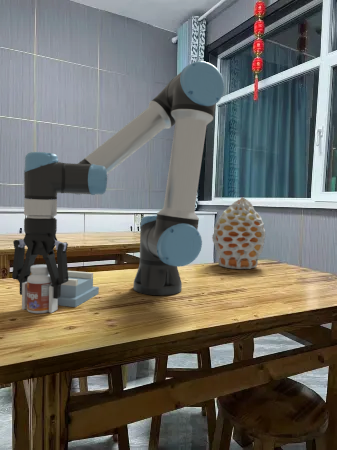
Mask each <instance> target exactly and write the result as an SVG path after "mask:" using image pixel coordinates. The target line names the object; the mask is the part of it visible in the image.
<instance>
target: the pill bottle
mask: <svg viewBox="0 0 337 450" xmlns="http://www.w3.org/2000/svg"><path fill="white" fill-rule="evenodd" d="M30 271H31V273H30V276H29V277H28V279H27V309H26V310H27V312H29V313H31V314H46V313H50V312H49V286H51V285H52V282H51V278H50V275H49V272H48V269H47V265H46V264H33V266H31V270H30Z"/></svg>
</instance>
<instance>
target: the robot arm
mask: <svg viewBox="0 0 337 450" xmlns="http://www.w3.org/2000/svg"><path fill="white" fill-rule="evenodd" d="M224 92H225V82H224V78H223V75H222V73H220V71H219V69H218V68H217V67H216V66H215V65H213V64H212V63H210V62H206V61H202V60H201V61H200V60H199V61H195V62H192V63H190V64H188V65H186V66H185V67H184V68H183V69H182V70H181V71H180V72H179V73H178V74H177V75H176V76H175V77H173V78H172V79H171V80H170V81H169V82H168V83H167V84H166V86H165V87H164V88H163V89H162V90H161V91H160V92H159V93H158V95H157V96H155V97H154V98H153V99H152V100H150V101H149V103H148V107H147V108H146V109H145V110H144V111H142V112H141V113H140V114H138V115H137V116H136V117H135V118H133V119H132V120H131V121H130V122H128V123H127V124H126V125H125V126H123V127H122V128H121V129H120V130H118V131H117V132H116V133H114V135H112V136H111V137H109V138H108V139H107V140H105V142H103V143H102V144H101V145H99V146H98V147H97V148H95V149H94V150H93V151H92V152H91V153H89V154H88V155H87V156H86V157H84V158H83V159H82V160H80V161H79V162H78V163H71V162H68V163H67V162H62V161H59V157H58V155H57V154H55V153H53V152H43V151H41V152H40V151H32V152H31V151H30V152H28V153H27V154H26V155H25V156H24V157H25V158H24V173H23V177H24V178H23V179H24V181H23V183H24V187H23V188H24V191H23V193H24V201H23V202H24V203H23V214H24V216H26V217H25V218H24V219H23V232H24V233H25V235H24V237H23V238H20V239H19V238H18V239H14V240H13V248H14V252H13V253H14V254H13V263H12V264H13V265H12V274H11V278H12V279H13V280H16V281H18V282H19V295H20V296H21V310H27V279H28V277H29V276H30V275H31V274H32V273H31V271H30V270H31V266H33V265H35V261H36V258H37V257H38V256H41V257H42V259H43V260H44V261H45V265H47V269H48V272H49V275H50V278H51V282H52V285H51V286H49V312H48V313H50V314H51V313H52V314H53V313H54V312H55V311H58V308H59V307H58V306H59V305H58V298H59V297H60V296H61V284H63V283H66V282H68V271H69V270H68V269H69V268H68V258H67V251H68V247H69V243H68V242H66V241H65V242H62V241H59V240H58V238H57V228H58V227H57V226H58V223H57V221H58V219H57V218H56V216H57V215H58V214H57V213H58V194H70V195H73V194H74V195H91V196H95V195H104V194H105V193H106V191H107V189H108V188H107V187H108V186H107V185H108V175H109V174H110V173H111V172H112V171H113V170H114V169H116V168H117V167H119V166H120V165H121V164H122V163H124V161H126V160H127V159H128V158H129V157H130V156H132V155H133V154H134V153H135V152H137V151H138V150H139V149H140V148H142V147H143V146H144V145H146V143H148V142H149V141H150V140H152V139H153V138H154V137H156V135H158V134H159V133H161V132H162V131H163V130H164V129H165V130H166V129H168V130H169V129H171V128H172V127H173V126H174V129H173V137H172V143H171V144H172V145H171V151H170V159H169V165H168V166H169V167H168V174H167V181H166V188H165V195H164V201H163V207H162V208H161V210H159V211H158V212H157V213H156V215H145V216H144V217H142V218H141V220H140V225H139V230H140V234H139V235H140V237H139V239H140V241H139V243H140V244H139V264H138V265H139V266H138V268H137V271H136V274H135V277H134V279H133V291H134V292H137V293H139V294H143V295H151V296H169V295H175V294H179V293H181V291H182V290H183V289H182V285H183V283H182V280H181V279H182V278H181V276H180V273H179V269H178V267H185V266H188V265H189V264H192V263H193V262H194V261H195V260H196V259H197V258H198V256H199V255H200V253H201V251H202V245H203V240H202V236H201V234H200V232H199V231H198V228H199V223H200V222H199V221H200V219H199V217H198V215H197V214H196V212H195V210H196V204H197V203H196V202H197V197H198V195H197V194H198V188H199V181H200V175H201V167H202V160H203V153H204V146H205V145H204V144H205V139H206V131H207V126H208V124H210V123H211V122H212V121H214V115H215V108H216V104H218V103H219V102H220V100H221V99H222V97H223V95H224ZM26 247H27V250H26ZM54 248H55V250H56V253H55V251H54ZM25 251H26V253H25ZM55 257H56V258H55ZM56 261H57V262H56Z"/></svg>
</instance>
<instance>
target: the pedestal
mask: <svg viewBox="0 0 337 450" xmlns="http://www.w3.org/2000/svg"><path fill="white" fill-rule="evenodd" d="M99 291H100V289H99V286H94V272H91V271H90V272H88V271H87V272H86V271H76V270H68V282H66V283H63V284H61V296H60V297H59V298H58V306H62V307H71V308H72V307H73V308H77V307H79V306H80V305H82V304H83V303H85V302H87V301H89V300H90V299H92V298H94V297H96V296H97V295H98V294H100V292H99Z"/></svg>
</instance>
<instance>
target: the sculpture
mask: <svg viewBox="0 0 337 450" xmlns="http://www.w3.org/2000/svg"><path fill="white" fill-rule="evenodd" d="M264 225H265V223H264V221H263V219H262V216H261V215H260V214H259V212H257V211H256V210H255V207H254V205H253V204H252V203H251V201H249V200H248V199H247V198H245V197H241V198H240V199H237V200H236V201H234V202H233V203H232V204H230V205H229V206H228V207H227V208H226V209H225V210H224V211H223V212H222V214H221V215H220V216H219V217H218V219H217V221H216V223H215V224H214V227H213V233H212V235H211V236H212V237H211V238H212V243H213V244H214V248H215V250H216V253H217V254H218V255H219V258H218V266H220V267H223V268H226V269H227V268H228V269H233V270H234V269H236V270H244V269H245V270H251V269H253V268H257V266H258V262H259V258H260V256H261V254H262V253H263V251H264V244H265V238H266V229H265V228H264Z"/></svg>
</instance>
